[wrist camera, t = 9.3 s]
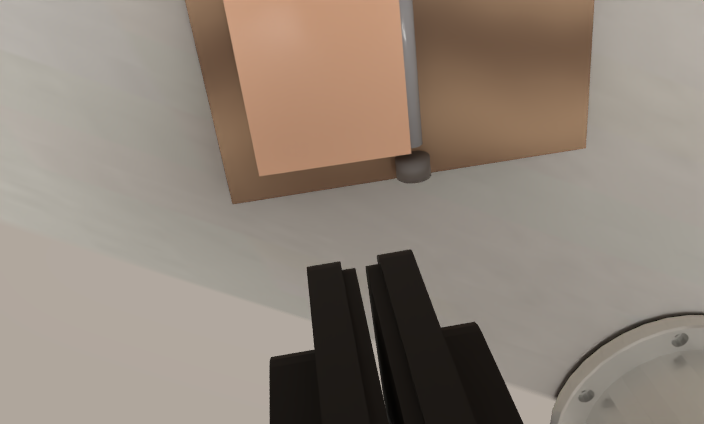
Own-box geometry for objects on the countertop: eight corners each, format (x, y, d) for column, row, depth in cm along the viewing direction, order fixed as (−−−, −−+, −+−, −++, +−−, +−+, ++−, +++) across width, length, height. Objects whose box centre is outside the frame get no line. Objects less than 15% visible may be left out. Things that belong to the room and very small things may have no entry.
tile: (259, 176, 26) (260, 166, 27) (425, 151, 26) (420, 141, 27) (214, -41, 22) (217, -44, 23) (410, -68, 22) (404, -71, 23)
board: (575, 139, 29) (599, 160, 27) (233, 193, 28) (231, 219, 26) (590, -146, 23) (620, -147, 21) (168, -89, 23) (159, -83, 21)
